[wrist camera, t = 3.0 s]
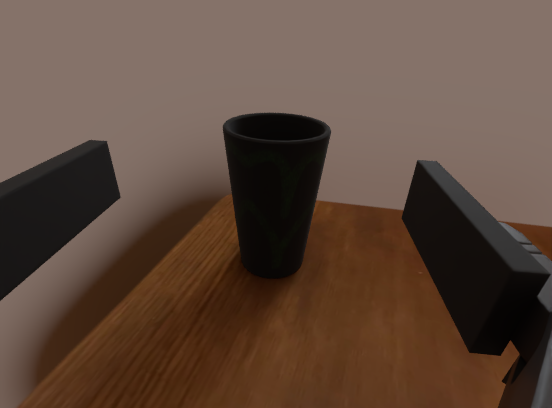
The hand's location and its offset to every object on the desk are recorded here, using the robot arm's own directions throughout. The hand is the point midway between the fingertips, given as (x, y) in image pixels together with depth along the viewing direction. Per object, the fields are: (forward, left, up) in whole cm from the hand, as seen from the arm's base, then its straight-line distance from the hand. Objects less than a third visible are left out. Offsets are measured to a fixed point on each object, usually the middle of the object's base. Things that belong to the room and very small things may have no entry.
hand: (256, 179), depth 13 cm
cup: (+5, +8, -12) cm, 16 cm away
